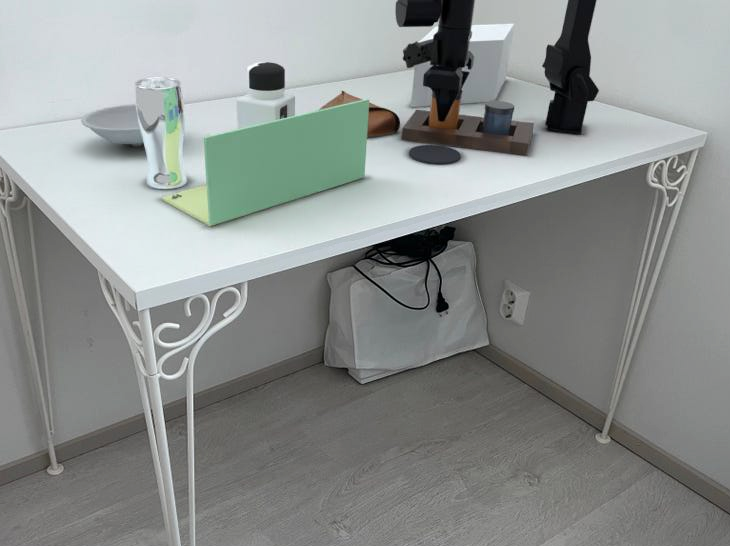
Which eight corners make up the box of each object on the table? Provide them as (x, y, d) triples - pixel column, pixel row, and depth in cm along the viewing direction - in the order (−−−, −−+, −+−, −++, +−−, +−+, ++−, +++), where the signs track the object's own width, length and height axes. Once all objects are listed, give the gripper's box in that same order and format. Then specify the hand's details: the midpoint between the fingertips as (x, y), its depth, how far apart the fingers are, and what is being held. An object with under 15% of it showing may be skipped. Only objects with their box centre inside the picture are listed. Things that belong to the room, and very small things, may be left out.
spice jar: (509, 138, 139) (516, 102, 136) (507, 146, 135) (513, 110, 132) (482, 134, 141) (487, 99, 137) (478, 142, 136) (483, 106, 133)
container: (295, 137, 136) (296, 62, 129) (275, 149, 130) (275, 72, 123) (258, 131, 138) (256, 57, 131) (237, 142, 133) (234, 66, 125)
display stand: (211, 226, 103) (205, 138, 96) (162, 199, 110) (153, 115, 103) (364, 178, 120) (369, 99, 113) (313, 157, 127) (314, 82, 120)
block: (379, 98, 160) (383, 36, 153) (474, 73, 180) (482, 17, 173) (444, 116, 150) (452, 51, 143) (537, 87, 170) (548, 29, 163)
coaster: (464, 150, 133) (464, 148, 132) (456, 167, 125) (456, 164, 125) (414, 144, 135) (414, 142, 134) (403, 160, 128) (404, 158, 127)
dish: (100, 165, 121) (96, 135, 118) (74, 140, 131) (69, 111, 128) (200, 149, 129) (198, 120, 126) (168, 126, 139) (166, 99, 136)
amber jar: (458, 131, 142) (464, 88, 137) (454, 140, 137) (460, 95, 133) (429, 128, 143) (434, 85, 139) (424, 136, 139) (429, 92, 134)
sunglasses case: (309, 111, 148) (324, 79, 146) (332, 125, 153) (347, 94, 151) (365, 137, 136) (382, 102, 134) (389, 150, 141) (406, 117, 139)
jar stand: (532, 134, 141) (534, 122, 140) (526, 155, 131) (529, 143, 130) (415, 120, 147) (416, 109, 145) (401, 139, 137) (402, 128, 135)
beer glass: (180, 192, 113) (171, 90, 104) (137, 188, 114) (125, 86, 105) (195, 176, 118) (189, 78, 110) (154, 172, 119) (144, 75, 111)
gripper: (419, 13, 139) (411, 99, 148) (397, 31, 124) (390, 125, 133) (479, 18, 136) (467, 105, 145) (464, 37, 121) (452, 133, 130)
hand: (443, 116), depth 138 cm, fingers closed on amber jar, 5 cm apart
